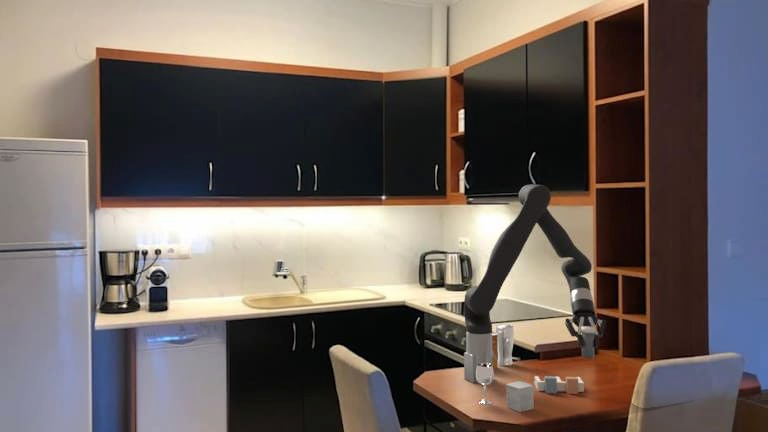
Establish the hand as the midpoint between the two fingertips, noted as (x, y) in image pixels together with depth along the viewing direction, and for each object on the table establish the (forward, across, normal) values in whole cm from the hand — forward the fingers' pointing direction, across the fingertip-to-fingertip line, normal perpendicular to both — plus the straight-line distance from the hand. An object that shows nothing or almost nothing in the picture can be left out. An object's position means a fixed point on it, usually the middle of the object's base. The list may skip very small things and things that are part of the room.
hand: (589, 346), depth 204 cm
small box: (-8, -33, +31) cm, 46 cm away
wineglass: (+20, -35, +3) cm, 40 cm away
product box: (+23, -24, 0) cm, 33 cm away
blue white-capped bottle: (+2, 0, +4) cm, 4 cm away
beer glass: (-13, -25, +35) cm, 45 cm away
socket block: (+8, -9, +14) cm, 19 cm away
